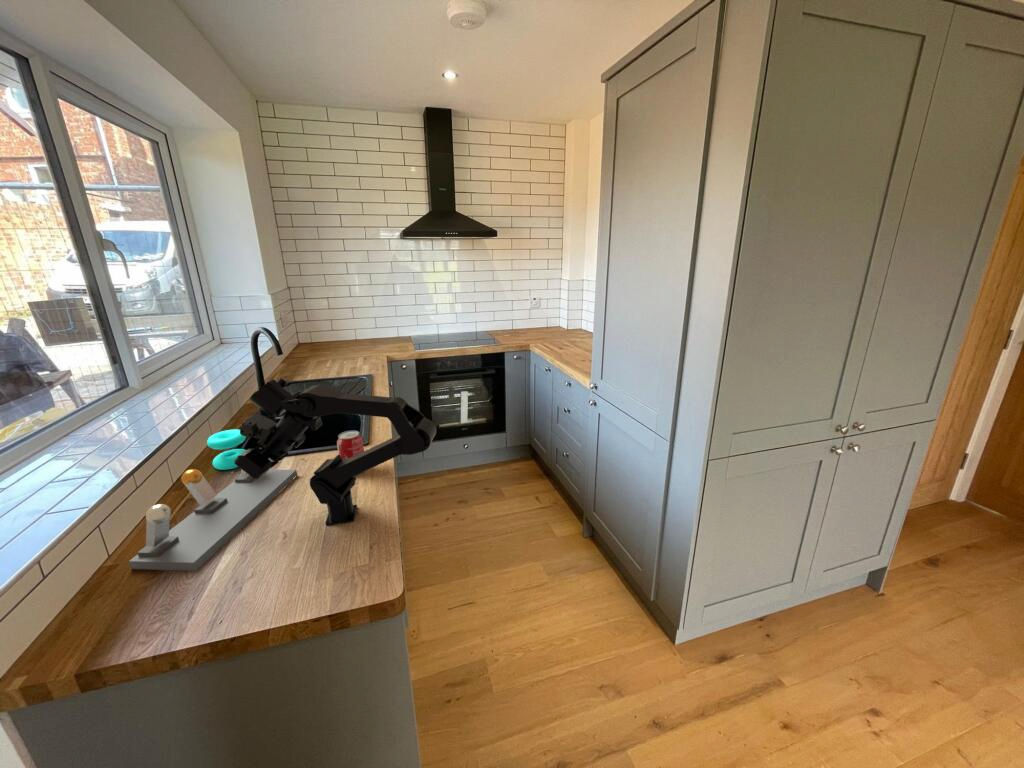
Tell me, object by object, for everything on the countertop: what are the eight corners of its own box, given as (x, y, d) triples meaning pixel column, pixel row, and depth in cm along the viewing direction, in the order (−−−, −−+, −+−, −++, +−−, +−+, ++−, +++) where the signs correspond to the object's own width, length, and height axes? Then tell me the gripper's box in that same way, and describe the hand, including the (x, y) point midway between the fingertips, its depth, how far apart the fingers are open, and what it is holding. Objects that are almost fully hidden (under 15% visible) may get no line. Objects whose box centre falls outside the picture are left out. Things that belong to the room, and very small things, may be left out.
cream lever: (174, 536, 89) (176, 503, 87) (158, 549, 86) (160, 514, 83) (156, 531, 89) (157, 497, 86) (139, 544, 85) (140, 509, 83)
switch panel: (297, 475, 120) (295, 466, 119) (196, 570, 84) (192, 558, 83) (251, 475, 121) (249, 466, 120) (131, 569, 85) (127, 557, 84)
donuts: (197, 439, 122) (227, 426, 131) (205, 469, 125) (234, 454, 134) (224, 442, 120) (252, 429, 129) (231, 473, 123) (259, 457, 132)
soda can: (340, 468, 124) (335, 432, 121) (365, 463, 127) (360, 427, 123) (342, 479, 118) (336, 441, 114) (367, 473, 121) (362, 436, 117)
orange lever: (221, 493, 103) (199, 463, 101) (209, 502, 99) (186, 472, 97) (208, 498, 104) (187, 469, 102) (196, 507, 100) (173, 477, 98)
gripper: (285, 392, 102) (252, 433, 106) (232, 421, 84) (195, 469, 88) (321, 421, 104) (287, 460, 108) (277, 455, 86) (238, 501, 90)
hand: (254, 471), depth 98 cm, fingers closed
